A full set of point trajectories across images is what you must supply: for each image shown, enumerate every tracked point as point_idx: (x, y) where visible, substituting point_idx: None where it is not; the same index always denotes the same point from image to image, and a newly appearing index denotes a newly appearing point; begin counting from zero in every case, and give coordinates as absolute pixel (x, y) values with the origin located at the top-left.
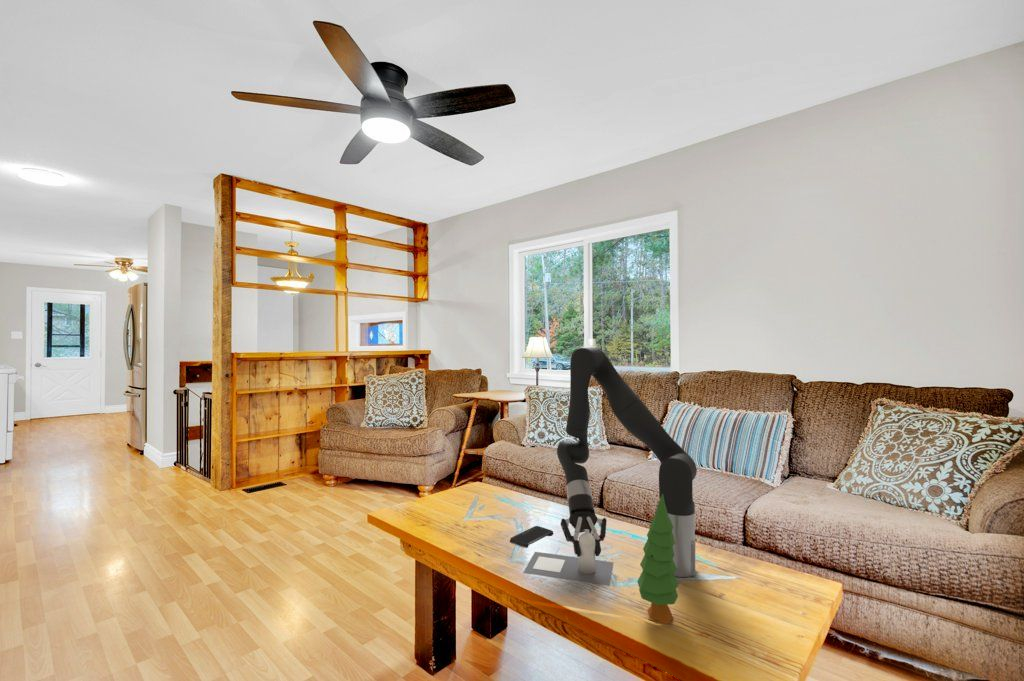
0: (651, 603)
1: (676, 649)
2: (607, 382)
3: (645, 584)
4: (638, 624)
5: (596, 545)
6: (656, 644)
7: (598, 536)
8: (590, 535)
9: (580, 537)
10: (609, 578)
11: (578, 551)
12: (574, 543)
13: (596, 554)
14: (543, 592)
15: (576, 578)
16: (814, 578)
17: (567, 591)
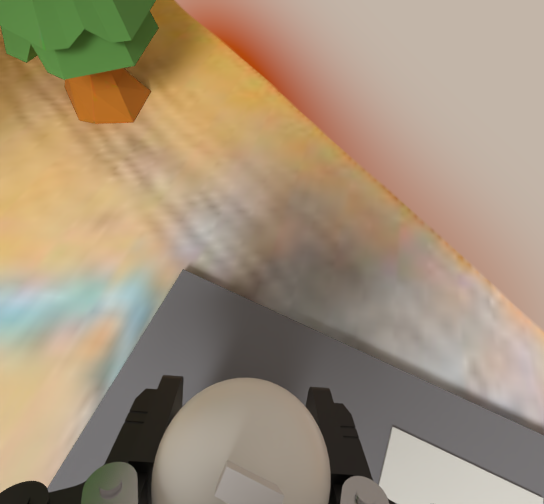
0: (112, 76)
1: None
2: None
3: None
4: (190, 84)
5: (161, 421)
6: (186, 26)
7: (89, 498)
8: (211, 441)
9: (323, 468)
10: (152, 329)
11: (327, 394)
12: (365, 468)
13: (181, 397)
14: (459, 280)
15: (316, 351)
16: None
17: (367, 273)
